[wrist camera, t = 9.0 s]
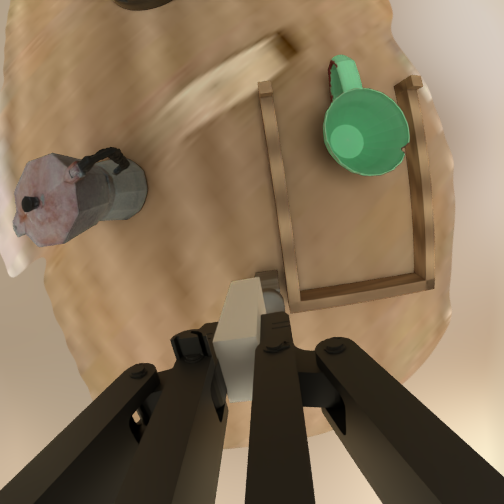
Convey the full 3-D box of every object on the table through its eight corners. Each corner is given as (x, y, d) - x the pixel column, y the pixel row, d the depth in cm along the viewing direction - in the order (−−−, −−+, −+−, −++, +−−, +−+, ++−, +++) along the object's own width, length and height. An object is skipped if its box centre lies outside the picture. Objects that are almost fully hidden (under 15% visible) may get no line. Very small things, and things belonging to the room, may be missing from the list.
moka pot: (71, 191, 43) (-23, 205, 24) (146, 127, 41) (67, 97, 21) (102, 243, 45) (16, 282, 25) (181, 181, 43) (118, 184, 23)
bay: (226, 99, 40) (215, 76, 30) (402, 86, 38) (436, 66, 28) (258, 306, 46) (256, 340, 36) (422, 280, 44) (456, 304, 34)
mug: (387, 169, 41) (419, 167, 31) (321, 184, 42) (338, 185, 32) (358, 70, 38) (381, 45, 28) (292, 82, 39) (299, 55, 29)
